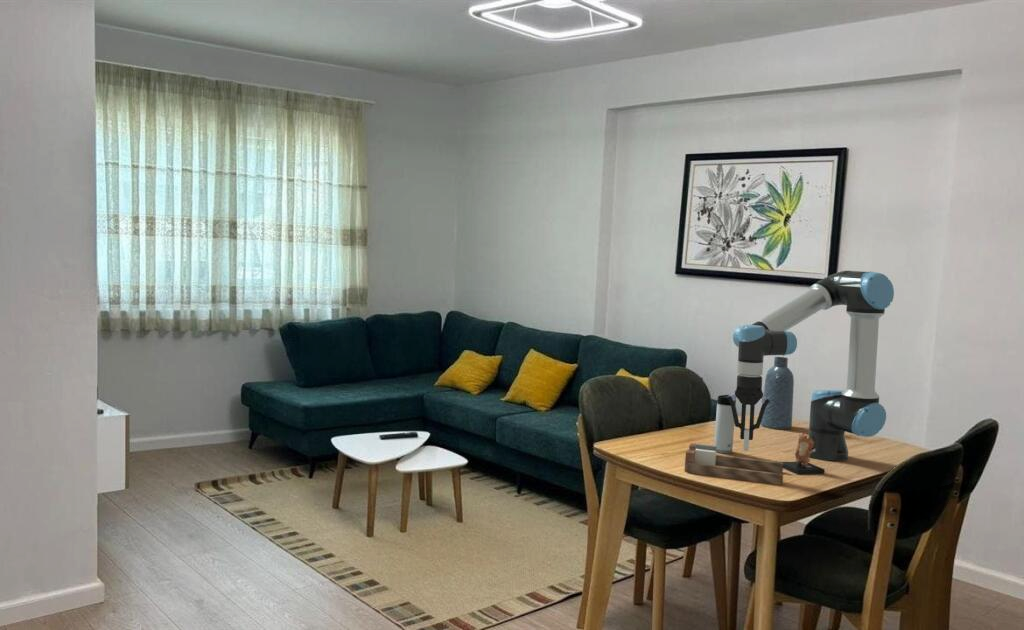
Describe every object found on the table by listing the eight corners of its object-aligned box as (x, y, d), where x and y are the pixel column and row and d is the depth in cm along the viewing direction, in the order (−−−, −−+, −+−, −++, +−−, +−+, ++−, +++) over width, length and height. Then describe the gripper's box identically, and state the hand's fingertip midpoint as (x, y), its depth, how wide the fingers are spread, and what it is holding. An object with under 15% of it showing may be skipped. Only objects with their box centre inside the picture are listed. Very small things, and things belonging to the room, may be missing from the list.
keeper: (715, 467, 269) (717, 444, 268) (714, 471, 263) (715, 448, 263) (695, 464, 271) (696, 442, 270) (693, 468, 265) (694, 446, 265)
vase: (762, 428, 338) (767, 358, 336) (758, 422, 350) (763, 354, 348) (793, 430, 336) (799, 360, 334) (788, 425, 348) (794, 357, 346)
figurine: (824, 474, 269) (827, 436, 268) (797, 474, 266) (800, 437, 265) (805, 465, 279) (807, 430, 278) (778, 466, 276) (781, 430, 275)
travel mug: (733, 454, 289) (738, 396, 287) (713, 452, 290) (718, 395, 288) (732, 450, 295) (736, 394, 293) (713, 448, 296) (717, 392, 294)
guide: (782, 471, 268) (783, 453, 268) (782, 485, 252) (783, 465, 252) (689, 460, 277) (691, 442, 276) (683, 472, 261) (685, 453, 260)
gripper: (771, 374, 264) (767, 449, 266) (728, 371, 268) (725, 445, 270) (771, 378, 257) (767, 454, 259) (727, 375, 260) (723, 450, 263)
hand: (745, 449), depth 264 cm, fingers closed
